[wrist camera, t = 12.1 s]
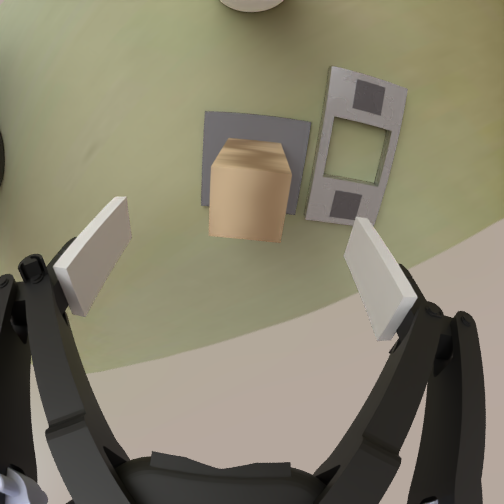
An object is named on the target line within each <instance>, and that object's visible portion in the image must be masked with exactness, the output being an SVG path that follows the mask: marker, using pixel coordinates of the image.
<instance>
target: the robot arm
mask: <svg viewBox="0 0 504 504" xmlns="http://www.w3.org/2000/svg"><path fill="white" fill-rule="evenodd" d="M3 173H4V150H3V143H2V137H1V133H0V185H1V182H2V178H3ZM131 239H132V234H131V228H130V220H129V213H128V204H127V197H114V198H113V199H112V200H111V201H110V202H109V203H108V204H107V205H106V206H105V207H104V208H103V209H102V210H101V212H100V213H99V214H98V215H97V216H96V217H95V218H94V219H93V220H92V221H91V222H90V223H89V224H88V225H87V227H86V228H85V229H84V230H83V231H82V232H81V233H80V234H79V236H78V237H74V238H72V239H71V240H69V241H68V242H67V243H66V244H65V245H64V246H63V247H62V250H60V251H59V252H58V254H56V256H55V257H54V258H53V259H52V261H51V262H50V263H49V264H48V265H47V267H46V265H45V263H44V260H43V257H42V255H40V254H33V255H29V256H28V257H26V258H24V259H23V260H22V261H21V262H20V264H19V266H18V270H19V272H20V274H21V277H22V279H23V282H15V279H14V277H13V275H11V274H5V275H2V276H1V277H0V504H47V502H48V498H47V495H46V494H45V492H44V491H42V490H41V488H40V487H39V485H38V484H37V466H36V458H35V451H34V444H33V435H32V424H31V410H30V409H31V408H30V364H31V355H32V361H33V366H34V371H35V375H36V381H37V385H38V389H39V393H40V396H41V401H42V404H43V407H44V411H45V414H46V417H47V421H48V424H49V428H48V429H47V430H46V431H45V436H46V439H47V443H48V445H49V448H50V451H51V453H52V456H53V458H54V461H55V463H56V465H57V468H58V470H59V472H60V475H61V477H62V479H63V481H64V483H65V485H66V487H67V489H68V491H69V493H70V495H71V497H72V500H71V501H69V502H68V503H66V504H379V502H380V500H381V499H382V497H383V495H384V494H385V492H386V491H387V489H388V487H389V485H390V484H391V482H392V480H393V478H394V476H395V474H396V473H397V470H398V469H399V467H400V464H401V458H400V456H399V451H400V449H401V447H402V445H403V442H404V440H405V438H406V436H407V434H408V432H409V429H410V427H411V425H412V422H413V420H414V417H415V415H416V412H417V409H418V407H419V404H420V402H421V399H422V396H423V394H424V391H425V388H426V385H427V397H426V407H425V415H424V423H423V430H422V436H421V442H420V447H419V453H418V457H417V462H416V466H415V471H414V475H413V479H412V482H411V486H410V491H409V495H408V501H407V504H483V501H482V487H481V486H482V485H481V477H482V469H483V460H484V449H485V429H486V427H485V426H486V424H485V423H486V416H485V415H486V411H485V410H486V409H485V389H484V388H485V387H484V375H483V366H482V358H481V351H480V346H479V338H478V333H477V328H476V323H475V321H474V319H473V318H472V316H471V315H469V314H468V313H466V312H464V311H458V312H457V313H456V315H455V316H454V318H451V317H448V316H444V315H443V312H442V310H441V309H440V308H439V307H438V306H437V305H436V304H434V303H432V302H429V301H426V299H425V297H424V296H423V294H422V293H421V291H420V289H419V287H418V286H417V284H416V282H415V281H414V279H412V276H411V274H410V273H409V271H408V270H407V269H406V268H405V267H404V266H403V265H402V264H398V263H397V262H396V260H395V258H394V257H393V255H392V254H391V252H390V251H389V249H388V248H387V246H386V245H385V243H384V242H383V240H382V239H381V237H380V236H379V234H378V233H377V231H376V230H375V228H374V227H373V225H372V224H371V223H370V221H369V220H368V218H362V217H356V218H355V222H354V225H353V228H352V231H351V235H350V238H349V241H348V244H347V247H346V250H345V253H344V258H345V260H346V262H347V265H348V267H349V270H350V272H351V274H352V277H353V279H354V282H355V284H356V286H357V289H358V291H359V294H360V296H361V299H362V302H363V304H364V307H365V309H366V312H367V314H368V317H369V320H370V322H371V325H372V328H373V331H374V333H375V336H376V339H377V341H384V340H391V339H392V337H393V336H394V334H395V333H396V332H397V334H398V336H399V339H398V340H397V342H396V343H395V344H394V346H393V347H392V349H391V350H390V352H389V353H390V356H389V358H388V360H387V362H386V364H385V367H384V368H383V371H382V372H381V374H380V376H379V378H378V380H377V382H376V384H375V386H374V388H373V389H372V391H371V393H370V395H369V397H368V399H367V400H366V402H365V404H364V405H363V407H362V409H361V410H360V412H359V414H358V415H357V417H356V419H355V420H354V422H353V423H352V425H351V426H350V428H349V429H348V431H347V433H346V434H345V435H344V437H343V438H342V440H341V441H340V443H339V444H338V446H337V447H336V448H335V450H334V451H333V453H332V454H331V455H330V457H329V458H328V459H327V460H326V461H325V462H324V463H323V464H322V465H321V466H320V467H319V468H318V469H317V470H316V471H315V473H314V474H313V475H311V474H309V473H307V472H305V471H302V470H299V469H296V468H291V467H290V462H284V463H254V464H249V465H243V466H238V467H233V468H226V469H218V468H214V467H211V466H208V465H205V464H202V463H200V462H197V461H194V460H191V459H188V458H186V457H181V456H175V455H169V454H164V453H158V452H153V451H152V455H151V457H141V458H137V459H133V460H130V459H129V457H128V456H127V454H126V453H125V451H124V450H123V448H122V447H121V446H120V445H119V443H118V442H117V441H116V439H115V437H114V435H113V433H112V431H111V429H110V428H109V426H108V424H107V422H106V420H105V418H104V416H103V413H102V411H101V409H100V407H99V405H98V403H97V400H96V398H95V396H94V393H93V391H92V388H91V386H90V383H89V381H88V378H87V376H86V373H85V370H84V368H83V365H82V362H81V359H80V356H79V353H78V350H77V347H76V344H75V341H74V338H73V334H72V331H71V328H70V324H69V320H68V316H67V314H66V312H65V310H66V308H67V307H68V305H69V307H70V310H71V312H72V314H74V315H79V316H83V317H86V315H87V313H88V311H89V309H90V308H91V306H92V304H93V302H94V300H95V298H96V297H97V295H98V293H99V291H100V289H101V288H102V286H103V284H104V282H105V281H106V279H107V277H108V276H109V274H110V272H111V270H112V269H113V267H114V266H115V264H116V262H117V261H118V259H119V257H120V256H121V254H122V253H123V251H124V249H125V248H126V246H127V245H128V243H129V242H130V240H131ZM427 382H428V384H427Z"/></svg>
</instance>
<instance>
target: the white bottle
mask: <svg viewBox="0 0 504 504" xmlns="http://www.w3.org/2000/svg"><path fill="white" fill-rule="evenodd" d="M220 1H221V2H222V3H223V4H224V5H226V6H228V7H230V8H232V9H235V10H238V11H243V12H260V11H264V10H268V9H271V8H273V7H275V6H277V5H278V4H280V3H281V2H282V1H283V0H220Z"/></svg>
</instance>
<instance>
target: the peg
mask: <svg viewBox="0 0 504 504" xmlns="http://www.w3.org/2000/svg"><path fill="white" fill-rule="evenodd" d="M291 178H292V173H291V170H290V167H289V164H288V162H287V159H286V156H285V153H284V150H283V148H282V145H281V143H275V142H267V141H258V140H248V139H236V138H228V140H227V141H226V143H225V144H224V146H223V148H222V149H221V151H220V153H219V154H218V156H217V157H216V159H215V161H214V162H213V164H212V166H211V179H210V207H209V236H217V237H227V238H238V239H248V240H258V241H268V242H278V243H280V242H281V236H282V231H283V225H284V220H285V214H286V208H287V202H288V196H289V190H290V184H291Z"/></svg>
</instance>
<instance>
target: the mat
mask: <svg viewBox="0 0 504 504" xmlns="http://www.w3.org/2000/svg"><path fill="white" fill-rule="evenodd" d="M310 127H311V122H308V121H302V120H295V119H289V118H281V117H274V116H265V115H256V114H245V113H232V112H214V111H205V121H204V139H203V161H202V193H201V206H210V179H211V166H212V164H213V162H214V161H215V159H216V157H217V156H218V154H219V153H220V151H221V149H222V148H223V146H224V144H225V143H226V141H227V140H228V138H236V139H248V140H258V141H267V142H275V143H281V145H282V148H283V150H284V153H285V156H286V159H287V162H288V164H289V167H290V170H291V173H292V178H291V184H290V190H289V196H288V202H287V208H286V214H291V215H295V213H296V207H297V202H298V197H299V191H300V186H301V180H302V175H303V169H304V163H305V157H306V151H307V145H308V139H309V133H310Z"/></svg>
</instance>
